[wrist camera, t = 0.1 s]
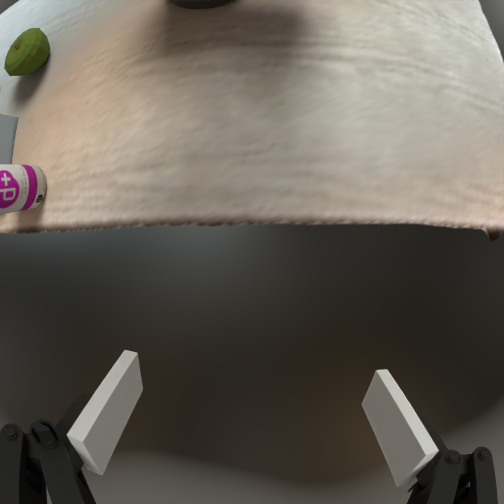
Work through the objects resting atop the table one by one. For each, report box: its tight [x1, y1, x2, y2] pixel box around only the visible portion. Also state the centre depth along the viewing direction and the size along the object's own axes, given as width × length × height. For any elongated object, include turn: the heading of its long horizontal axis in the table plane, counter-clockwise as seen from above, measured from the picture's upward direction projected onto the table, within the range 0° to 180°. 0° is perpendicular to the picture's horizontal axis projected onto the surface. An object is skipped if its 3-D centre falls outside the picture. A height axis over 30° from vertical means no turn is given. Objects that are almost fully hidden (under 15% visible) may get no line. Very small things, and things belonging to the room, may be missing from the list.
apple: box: [5, 28, 50, 76], centre depth 26 cm, size 11×10×10 cm
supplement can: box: [0, 164, 46, 214], centre depth 30 cm, size 8×8×15 cm
